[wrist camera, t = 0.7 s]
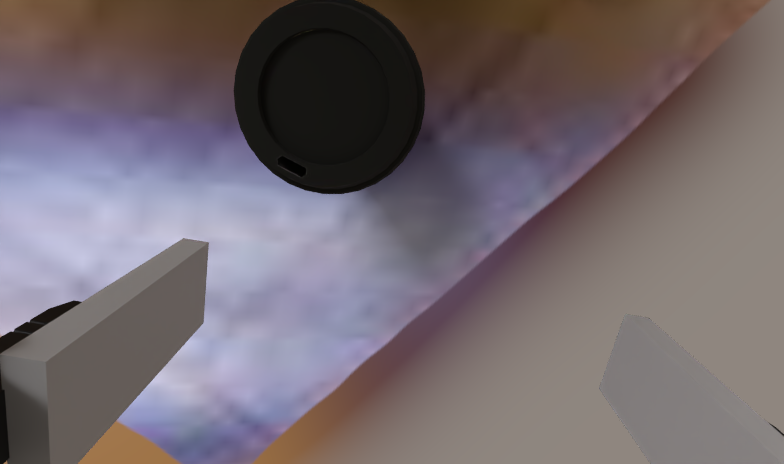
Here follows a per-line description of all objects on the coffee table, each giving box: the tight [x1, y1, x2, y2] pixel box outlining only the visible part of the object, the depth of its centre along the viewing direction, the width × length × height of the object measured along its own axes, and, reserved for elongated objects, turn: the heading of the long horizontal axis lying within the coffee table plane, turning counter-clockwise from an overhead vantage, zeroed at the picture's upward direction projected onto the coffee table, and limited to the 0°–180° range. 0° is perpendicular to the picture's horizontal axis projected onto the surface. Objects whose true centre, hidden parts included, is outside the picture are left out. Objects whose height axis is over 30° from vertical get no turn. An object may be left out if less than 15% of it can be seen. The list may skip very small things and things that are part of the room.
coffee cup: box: [234, 0, 425, 194], centre depth 29 cm, size 10×10×15 cm
